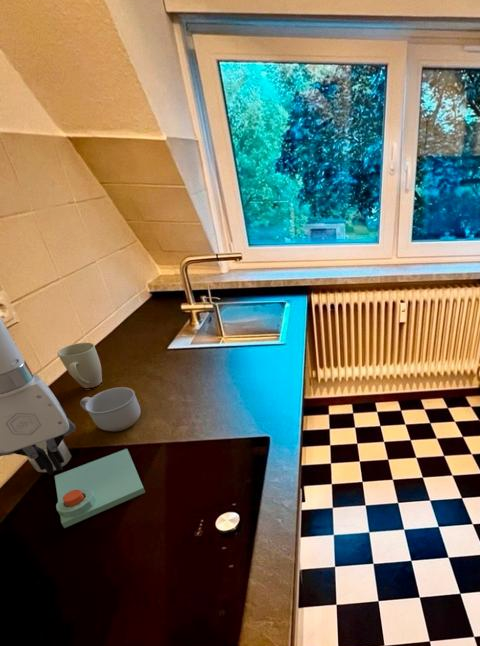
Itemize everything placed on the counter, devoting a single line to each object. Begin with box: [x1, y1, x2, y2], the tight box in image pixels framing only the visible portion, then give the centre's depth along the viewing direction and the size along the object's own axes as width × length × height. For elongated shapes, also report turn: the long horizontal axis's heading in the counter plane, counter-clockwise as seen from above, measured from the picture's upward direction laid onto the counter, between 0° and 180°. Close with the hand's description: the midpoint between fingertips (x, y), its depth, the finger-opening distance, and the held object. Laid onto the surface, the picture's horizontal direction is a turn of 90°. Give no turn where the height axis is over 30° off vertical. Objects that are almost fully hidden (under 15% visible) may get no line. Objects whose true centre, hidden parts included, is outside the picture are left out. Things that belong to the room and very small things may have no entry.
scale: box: [54, 448, 146, 529], centre depth 79 cm, size 14×16×3 cm
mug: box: [56, 342, 103, 389], centre depth 112 cm, size 11×10×12 cm
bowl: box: [26, 439, 72, 473], centre depth 85 cm, size 7×7×5 cm
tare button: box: [63, 490, 84, 507], centre depth 73 cm, size 3×3×2 cm
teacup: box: [79, 386, 142, 432], centre depth 97 cm, size 14×11×8 cm
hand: (55, 467), depth 69 cm, fingers closed
